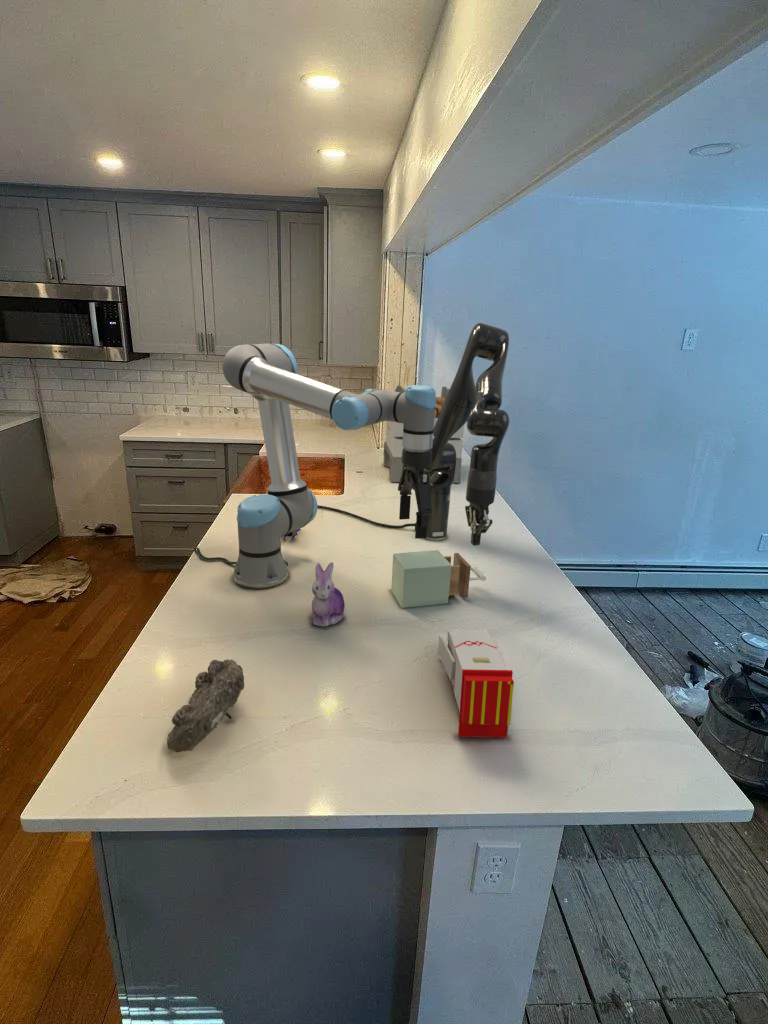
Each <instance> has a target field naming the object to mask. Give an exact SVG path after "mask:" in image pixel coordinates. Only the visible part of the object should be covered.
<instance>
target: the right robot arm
mask: <svg viewBox="0 0 768 1024" xmlns="http://www.w3.org/2000/svg"><path fill="white" fill-rule="evenodd" d="M509 347H510V334H509V332H508V331H506V329H503V328H500V327H497V326H493V325H490V324H488V323H487V324H486V323H483V322H477V323H475V325H474V326H473V327H472V329H471V331H470V333H469V336H468V339H467V341H466V344H465V347H464V351H463V353H462V356H461V360H460V363H459V366H458V367H457V371H456V374H455V376H454V378H453V381H452V383H451V385H450V388H449V389H450V390H449V392H448V394H447V397H446V399H445V402H444V404H443V407H442V410H441V412H440V415H439V417H438V419H437V422H436V424H435V426H434V428H433V430H434V431H433V436H434V437H435V438H434V439H433V443H432V448H431V449H430V450H431V451H432V460H431V465H429V466H427V467H425V468H424V470H425V472H428V473H429V472H430V473H433V474H431V475H430V483H429V484H430V495H431V506H432V514H428V521H427V534H426V538H423V539H424V540H426V541H432V542H440V541H444V540H446V539H447V538H448V525H449V517H450V516H449V514H450V504H451V494H452V493H451V491H452V486H453V484H454V483H453V481H454V475H455V468H456V459H457V457H456V450H455V448H454V446H453V445H452V444H450V443H447V442H448V441H449V439H450V438H451V437H452V436H453V435H454V434H455V433H456V432H457V431H458V430H459V429H460V428H461V427H462V426H463V425H464V426H465V424H466V428H467V432H468V433H469V434H470V435H472V436H475V437H487V438H492V439H491V440H490V441H488V442H486V443H479V444H475V445H473V446H472V448H471V451H470V462H469V470H468V474H467V484H466V493H465V500H466V501H467V503H469V505H465V507H464V511H465V515H466V516H465V517H466V521H467V526H468V527H470V532H471V534H470V535H471V536H470V544H471V545H472V546H473V547H475V546H480V545H481V541H482V534H486V533H487V532H488V531H489V529H490V527H491V526H492V525H493V519H492V518H491V519H490V518H489V514H490V509H489V506H490V505H492V504H494V502H495V496H496V488H497V480H498V473H497V471H498V464H499V463H498V461H499V456H500V450H501V448H502V445H503V441H504V439H505V436H506V434H507V432H508V429H509V427H510V416H509V413H508V412H507V411H506V410H505V409H500V408H501V407H502V404H503V380H504V374H505V368H506V365H507V359H508V353H509ZM475 358H479V359H482V360H486V361H491V362H493V363H492V364H490V366H489V367H487V368H486V369H485V370H483V372H482V373H481V374H480V375H479V377H478V378H477V380H476V382H475V378H474V370H473V368H474V367H473V365H474V362H475V361H474V360H475ZM317 509H323V510H327V511H328V510H329V511H333V512H336V513H340V514H343V515H347V516H350V517H353V518H354V519H358V520H361V521H363V522H366V523H368V524H371V525H374V526H379V527H384V528H388V529H405V528H408V527H414V532H416V522H415V523H405V524H401V525H393V524H387V523H381V522H376V521H374V520H371V519H369V518H366V517H362V516H360V515H358V514H354V513H351V512H348V511H346V510H343V509H340V508H339V509H338V508H334V507H329V506H325V505H319V504H317ZM424 510H425V509H424Z"/></svg>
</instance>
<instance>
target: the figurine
mask: <svg viewBox="0 0 768 1024" xmlns="http://www.w3.org/2000/svg"><path fill="white" fill-rule="evenodd" d="M334 567H335V564H334V562H332V561H331V562H329V563H328V564H327V566H326V568H325V569H323V567H322V565H321V563H320V562H318V563H316V564H315V569H314V571H315V579H314V582H313V584H312V586H311V587H312V588H311V591H312V594H313V595H314V596H313V599H312V601H311V611H312V615H311V618H312V624H313V625H315V626H318V627H328V626H330V625H335V624H337V623H339V622H340V621H341V620H342V619H343V618H344V613H345V607H346V606H345V605H346V603H345V599H344V595H343V594H342V592H341V590H339V589H338V588H337V587H336V586H335V583H334V581H333V579H332V575H333V573H334Z"/></svg>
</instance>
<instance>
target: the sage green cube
mask: <svg viewBox="0 0 768 1024" xmlns="http://www.w3.org/2000/svg"><path fill="white" fill-rule="evenodd" d="M444 556H445V555H443V554H442V553H441V551H440V550H438V549H437V550H424V551H423V550H422V551H421V550H420V551H408V552H397V553H395V552H394V553H392V567H391V569H392V571H391V588H390V591H391V593H392V594H393V597H395V599H396V600H397V602H398V604H399V606H400V608H401V609H405V608H413V607H415V608H417V607H423V606H424V607H425V606H433V605H445V604H449V597H450V595H449V587H450V577H451V566H452V564H450V563H449V562H448V561H447V560H446V559H445V557H444Z"/></svg>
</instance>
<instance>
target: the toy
mask: <svg viewBox="0 0 768 1024" xmlns="http://www.w3.org/2000/svg"><path fill="white" fill-rule="evenodd" d="M446 640H447V643H446V641H445V639H444V636H443V635H442V634H439V637H438V646H437V656H438V657H439V659H440V661H441V663H442V666H443V668H444V670H445V672H446V674H447V677H448V679H449V681H450V684H451V687H452V690H453V693H454V697H455V701H456V705H457V708H458V711H459V714H458V715H459V716H458V730H457V731H458V732H457V737H458V738H508V731H509V726H510V725H511V717H512V707H513V697H514V696H513V695H514V684H515V680H514V679H513V673H514V671H513V670H512V669H508V667H507V665H506V662H505V661H504V659H503V658H502V655H501V653H500V651H499V649H498V647H497V643H496V639H495V637H494V635H493V634H491V632H490V631H489V629H467V628H466V629H465V628H463V629H461V628H460V629H459V628H448V630H447V639H446Z"/></svg>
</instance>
